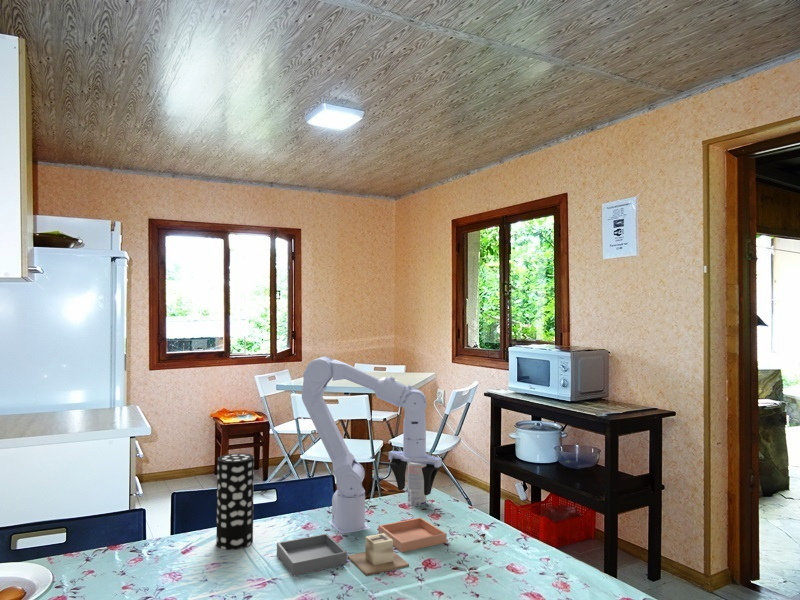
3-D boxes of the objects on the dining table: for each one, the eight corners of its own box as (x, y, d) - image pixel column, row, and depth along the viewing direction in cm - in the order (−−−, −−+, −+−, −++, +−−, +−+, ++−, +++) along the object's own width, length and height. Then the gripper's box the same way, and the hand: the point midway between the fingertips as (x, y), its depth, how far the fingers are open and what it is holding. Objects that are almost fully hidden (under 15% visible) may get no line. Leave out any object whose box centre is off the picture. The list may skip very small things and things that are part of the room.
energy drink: (426, 501, 165) (427, 460, 165) (425, 507, 159) (426, 464, 160) (408, 501, 165) (408, 459, 166) (406, 507, 160) (407, 464, 160)
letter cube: (365, 557, 124) (365, 536, 124) (383, 553, 126) (383, 532, 127) (374, 565, 120) (374, 543, 120) (393, 561, 122) (393, 539, 123)
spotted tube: (208, 546, 132) (209, 460, 133) (231, 533, 140) (232, 452, 140) (237, 552, 129) (239, 463, 130) (260, 539, 137) (261, 455, 137)
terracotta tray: (378, 536, 139) (378, 525, 139) (421, 527, 144) (421, 517, 145) (401, 554, 128) (401, 542, 128) (446, 544, 134) (446, 533, 134)
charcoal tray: (276, 554, 128) (276, 542, 128) (326, 544, 134) (327, 533, 134) (292, 576, 117) (293, 563, 117) (346, 564, 123) (346, 552, 123)
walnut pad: (347, 559, 125) (347, 555, 125) (387, 551, 130) (387, 546, 130) (366, 578, 116) (366, 573, 116) (408, 568, 121) (409, 563, 121)
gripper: (382, 437, 145) (381, 490, 144) (432, 444, 137) (432, 501, 137) (396, 432, 151) (396, 483, 150) (445, 438, 143) (445, 493, 143)
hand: (414, 491), depth 144 cm, fingers open, 7 cm apart
